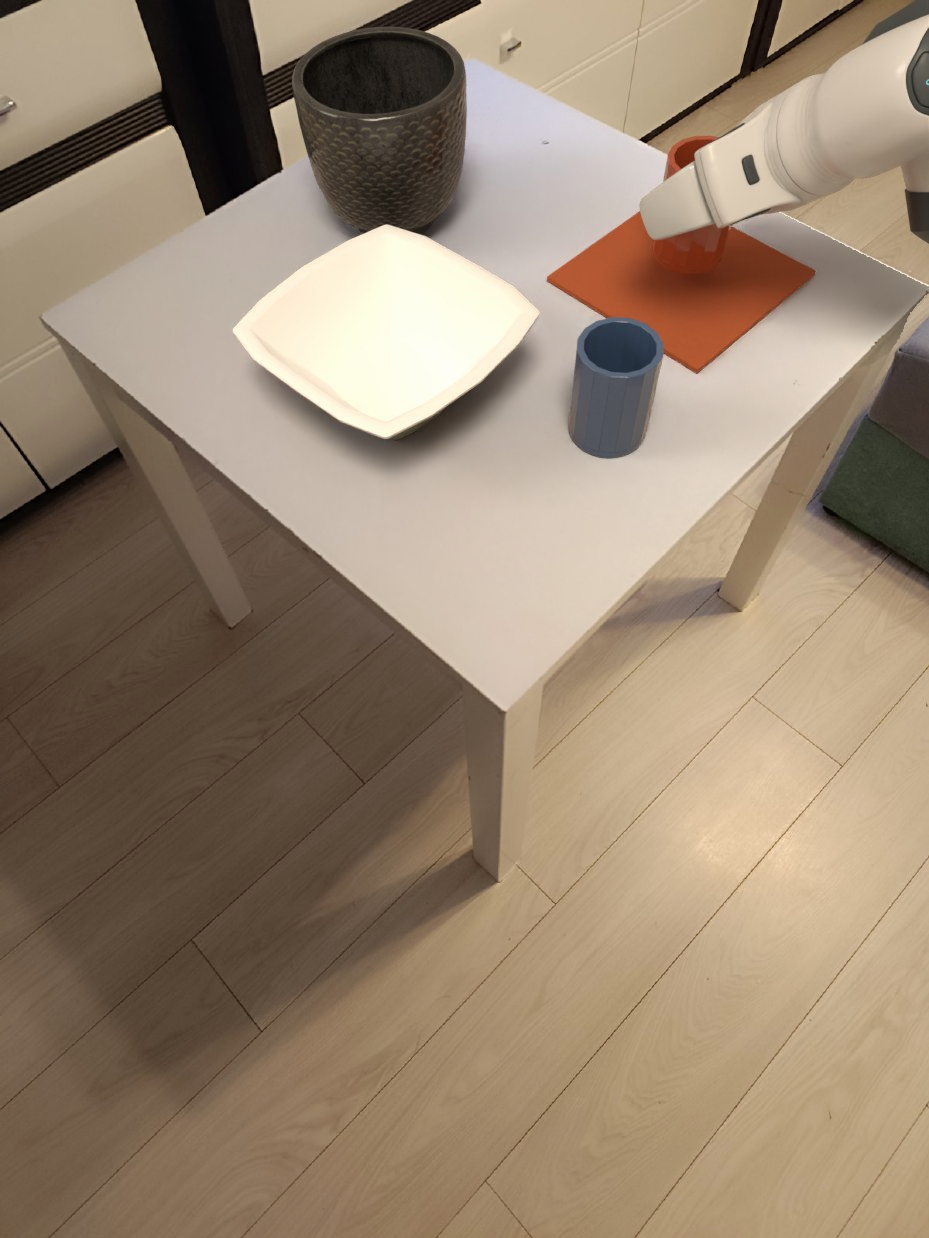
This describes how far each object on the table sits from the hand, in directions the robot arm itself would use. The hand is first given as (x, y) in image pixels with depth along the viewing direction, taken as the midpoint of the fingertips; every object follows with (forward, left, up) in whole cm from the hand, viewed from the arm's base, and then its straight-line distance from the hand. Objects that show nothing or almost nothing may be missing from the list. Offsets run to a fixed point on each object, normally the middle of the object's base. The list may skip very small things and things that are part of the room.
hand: (693, 200), depth 84 cm
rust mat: (0, +1, -9) cm, 9 cm away
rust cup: (0, 0, -5) cm, 5 cm away
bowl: (+27, +19, -9) cm, 35 cm away
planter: (+32, -7, -9) cm, 34 cm away
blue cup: (+7, +23, -9) cm, 25 cm away
